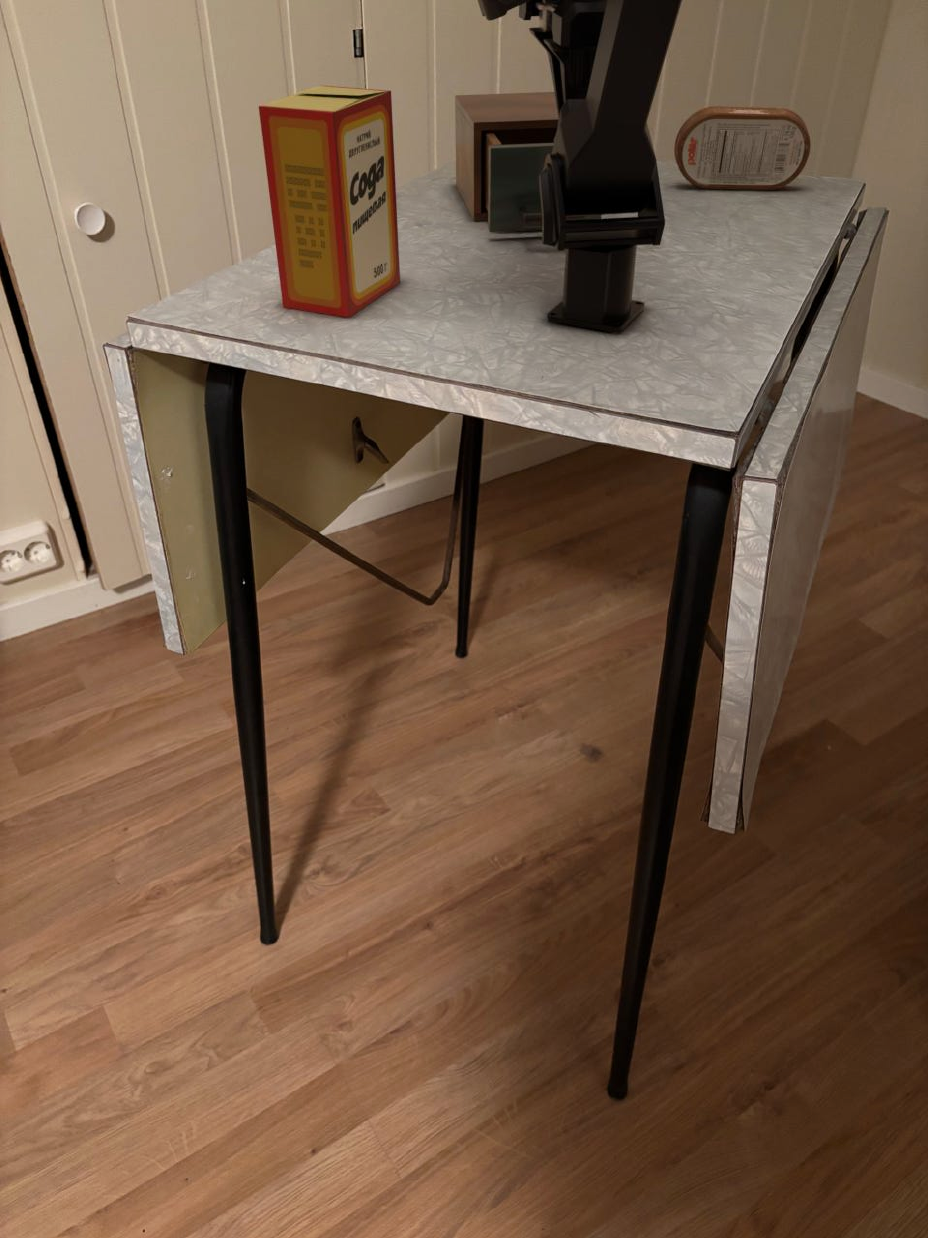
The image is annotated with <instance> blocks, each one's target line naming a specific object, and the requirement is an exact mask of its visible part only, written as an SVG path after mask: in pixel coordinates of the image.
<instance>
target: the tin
mask: <svg viewBox="0 0 928 1238" xmlns="http://www.w3.org/2000/svg"><path fill="white" fill-rule="evenodd" d="M811 146H812V145H811V137H810V134H809V130H808V127H807V125H806V123H805V121H804V120H803V118H802V117H801V116H800V115H799V114H798V113H797V112H795V111H793V110H792V109H789V108H785V107H776V106H775V107H773V106H770V107H768V106H766V107H765V106H734V105H733V106H732V105H731V106H730V105H711V106H706V107H703V108H700V109H698V110H697V111H695V112H693V114H691V115H690V116H689V117H688V118H687V119H685V121H684V122H683V124H682V125H681V126H680V127H679V130H678V132H677V134H676V137H675V140H674V147H673V148H674V149H673V153H674V159H675V163H676V165H677V167H678V170H679V172H680V173H681V175H682V177H684V179H685V180H686V181H687V182H689V184H691V185H693V186H695V187H698V188H701V189H712V190H713V189H716V190H749V191H750V190H753V191H772V190H778V189H781V188H784V187H786V186H787V185H788V184H790V183H792V182H793V181H794V180H795V179H797V177H799V175H801V173H802V172H803V170H804V168H805V167H806V165H807V162H808V160H809V157H810V153H811Z"/></svg>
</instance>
